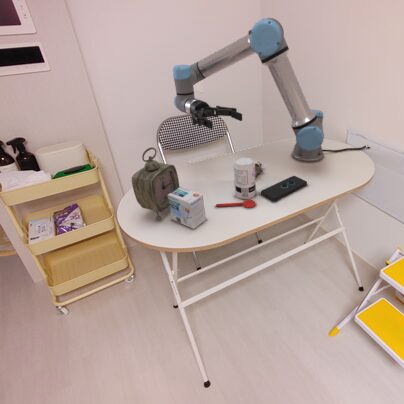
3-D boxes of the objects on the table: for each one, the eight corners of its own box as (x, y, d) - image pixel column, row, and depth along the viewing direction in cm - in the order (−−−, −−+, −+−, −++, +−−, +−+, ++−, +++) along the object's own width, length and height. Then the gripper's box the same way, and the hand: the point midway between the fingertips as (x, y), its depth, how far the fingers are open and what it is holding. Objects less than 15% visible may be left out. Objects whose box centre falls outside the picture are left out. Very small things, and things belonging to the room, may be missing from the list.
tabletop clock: (160, 224, 107) (144, 159, 93) (139, 218, 109) (120, 155, 95) (182, 202, 118) (171, 142, 104) (163, 198, 121) (149, 139, 107)
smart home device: (308, 181, 128) (274, 198, 117) (307, 185, 129) (274, 202, 118) (293, 174, 133) (259, 190, 122) (293, 178, 134) (259, 194, 123)
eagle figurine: (254, 166, 141) (240, 169, 135) (262, 157, 136) (247, 159, 130) (263, 179, 139) (248, 183, 133) (270, 170, 134) (255, 173, 128)
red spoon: (215, 210, 114) (215, 207, 113) (216, 203, 118) (215, 200, 117) (255, 207, 115) (255, 205, 114) (255, 200, 119) (254, 198, 118)
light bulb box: (171, 219, 109) (166, 194, 103) (185, 210, 113) (180, 185, 107) (194, 229, 104) (189, 203, 98) (206, 219, 109) (203, 194, 103)
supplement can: (232, 192, 124) (230, 158, 116) (251, 187, 127) (250, 155, 119) (239, 201, 118) (237, 167, 110) (258, 197, 121) (258, 163, 113)
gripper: (223, 112, 136) (253, 123, 122) (172, 124, 122) (199, 138, 109) (222, 94, 132) (252, 104, 118) (168, 105, 118) (196, 118, 105)
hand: (227, 121), depth 113 cm, fingers open, 13 cm apart
